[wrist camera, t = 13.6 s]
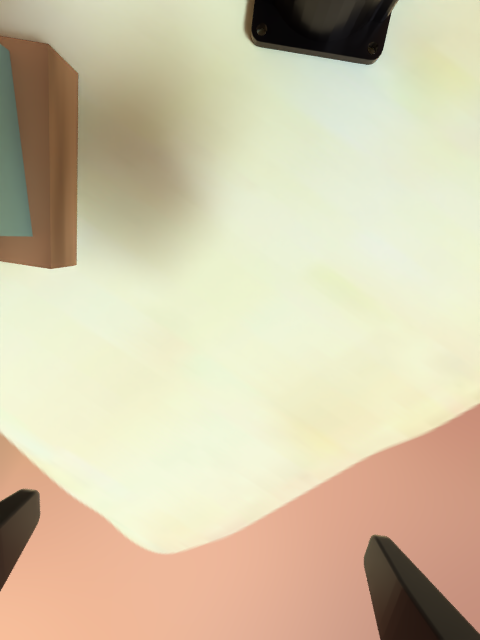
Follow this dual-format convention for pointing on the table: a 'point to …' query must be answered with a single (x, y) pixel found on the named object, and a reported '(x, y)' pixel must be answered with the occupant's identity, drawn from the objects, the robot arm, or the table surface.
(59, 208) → the tower base
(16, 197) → the tower top
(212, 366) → the table surface
